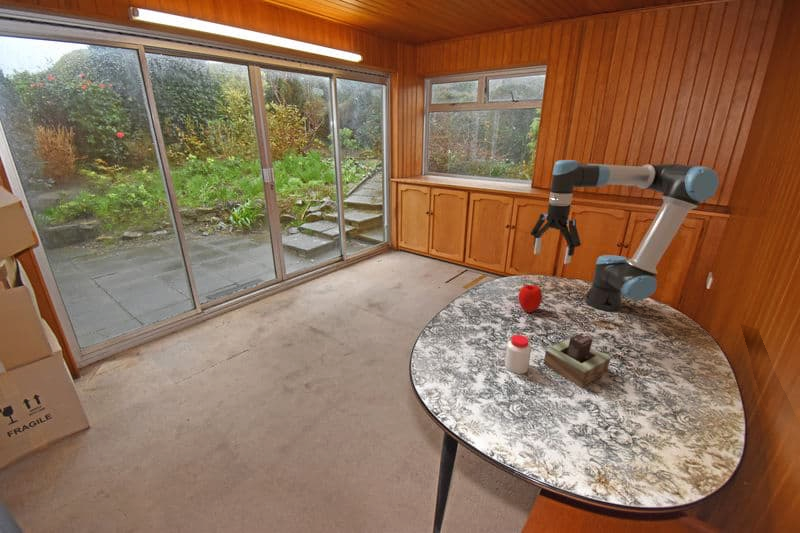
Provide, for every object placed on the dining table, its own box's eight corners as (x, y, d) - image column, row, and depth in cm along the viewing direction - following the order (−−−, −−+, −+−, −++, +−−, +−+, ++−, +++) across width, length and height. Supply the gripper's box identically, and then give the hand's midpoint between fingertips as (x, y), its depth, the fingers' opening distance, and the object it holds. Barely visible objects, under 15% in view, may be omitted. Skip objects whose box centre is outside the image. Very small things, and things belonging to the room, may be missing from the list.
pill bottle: (511, 356, 124) (514, 330, 120) (532, 366, 119) (536, 338, 115) (500, 366, 119) (503, 339, 115) (521, 377, 114) (525, 348, 110)
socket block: (568, 351, 127) (571, 337, 125) (606, 372, 116) (610, 357, 113) (543, 363, 120) (546, 349, 118) (581, 387, 109) (584, 371, 107)
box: (574, 374, 115) (581, 343, 110) (563, 367, 118) (569, 337, 114) (586, 369, 117) (593, 338, 113) (574, 362, 121) (581, 332, 117)
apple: (530, 303, 162) (534, 279, 158) (545, 313, 153) (549, 288, 149) (512, 307, 159) (515, 282, 155) (526, 317, 150) (529, 291, 146)
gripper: (525, 199, 136) (519, 251, 144) (585, 211, 116) (574, 269, 124) (538, 197, 140) (531, 248, 148) (598, 208, 120) (587, 265, 128)
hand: (551, 258), depth 136 cm, fingers open, 13 cm apart
